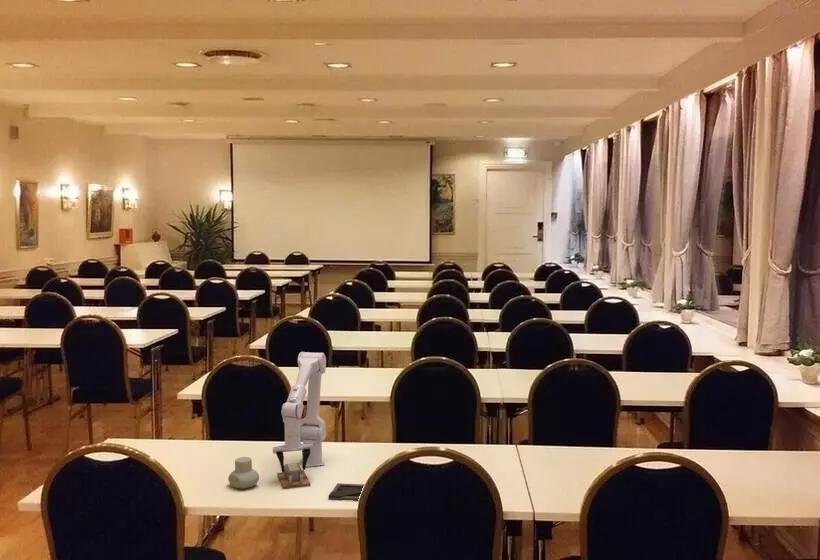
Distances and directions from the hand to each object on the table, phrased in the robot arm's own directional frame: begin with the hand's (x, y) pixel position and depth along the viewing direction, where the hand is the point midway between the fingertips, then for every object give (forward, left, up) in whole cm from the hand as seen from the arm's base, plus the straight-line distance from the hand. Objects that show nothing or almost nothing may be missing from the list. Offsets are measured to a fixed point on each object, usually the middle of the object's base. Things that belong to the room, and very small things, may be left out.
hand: (293, 470), depth 293 cm
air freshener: (0, -18, -4) cm, 18 cm away
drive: (0, 0, -3) cm, 3 cm away
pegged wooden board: (0, 0, -4) cm, 4 cm away
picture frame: (+20, +20, -5) cm, 29 cm away
